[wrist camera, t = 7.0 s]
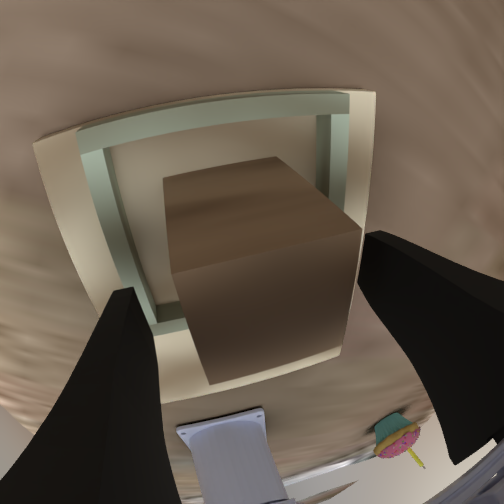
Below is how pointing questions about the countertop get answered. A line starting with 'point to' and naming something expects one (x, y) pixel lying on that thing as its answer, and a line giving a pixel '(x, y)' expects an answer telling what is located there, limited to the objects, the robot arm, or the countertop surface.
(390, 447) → the cupcake
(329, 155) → the board
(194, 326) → the walnut block
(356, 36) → the countertop surface
